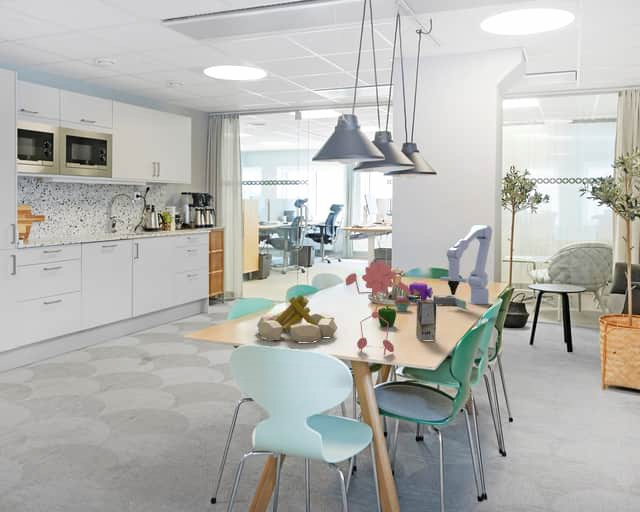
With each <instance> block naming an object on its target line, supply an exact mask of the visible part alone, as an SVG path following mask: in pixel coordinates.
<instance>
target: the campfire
mask: <svg viewBox="0 0 640 512" xmlns="http://www.w3.org/2000/svg"><path fill="white" fill-rule="evenodd" d="M288 302H289V303H290V304H289V306H288V307H286V309H285V310H283V311H280V312H278V313H276V314H271V313H270V314H269V313H268V314H267V313H266V314H263V315H262V316H261V317H260V320H258V322H257V325H256V326H257V328H258V329H257V331H258V333H259V334H260V336H261V338H262V337H263V338H266V339H268V340H277V341H280V339H281V337H282V334H283V333H285V334H286V333H287V332H289V331H290V338H291V339H292V340H293V341H295V342H296V341H298V342H314V341H317V340H318V341H320V340H322V338H321V337H331V338H333V336H334V335H335V333H336V332H337V330H338V325H337V323H336V322H335V317H334V316H332V315H331V314H329V313H327V312H318V313H317V312H316V313H313V314H311V315H310V314H309V313H310V311H311V309H310V307H308V306H307V305H308V304H309V302H310V301H309V300H308V298H305V297H304V296H303V295H302V294H300V295H298V296H297V297H295V296H293V297H292V298H291V299H289V300H288ZM303 319H304V320H305V322H303ZM333 334H334V335H333ZM263 338H262V339H263ZM268 340H267V341H268ZM318 341H317V342H318ZM298 342H297V343H298Z"/></svg>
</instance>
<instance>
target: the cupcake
mask: <svg viewBox="0 0 640 512" xmlns="http://www.w3.org/2000/svg"><path fill="white" fill-rule="evenodd" d="M406 294H407V293H406V292H404V294H403V296H399V297H396V298H395V299H394V300H393V304H394V305H395V306H396V309H397V310H396V311H398V312H406V311H407V310H408V308H409V305H411V301H412V300H409V297H408V298H407V297H406Z"/></svg>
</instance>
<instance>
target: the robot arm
mask: <svg viewBox="0 0 640 512" xmlns="http://www.w3.org/2000/svg"><path fill="white" fill-rule="evenodd" d="M470 228H471V229H470V231H469V233H468V234H467V235H466V236H465V238H464V239H463V238H462V239H459V240H458V242H457V243H456V244H454V246H452V247H450V248H449V249H448V250H447V252H446V257H447V260H448V261H447V262H448V276H440V278H439V279H440V281H442V282H443V281H444V282H447V285H448V286H449V290H450V293H451V296H455V295H456V291H457V288H458V287H459V285H460V283H465V284H467V283H468V285H469V288H470V300H468V301H467V302H468V303H470V304H471V305H489V288H488V287H487V285H488V276H489V275H488V274H487V273H486V272H485V270H486V265H487V260H488V254H489V249H490V244H491V241H492V240H491V239H492V235H493V229H492V227H491V226H490V225H480V224H479V225H478V224H474V225H473V226H472V227H470ZM475 239H476V240H477V241H479V247H478V250H477V251H478V252H477V257H476V261H475V266H474V270H472V271H471V272H470V273H469V277H468V278H463V277H460V262H461V261H460V259H461V258H462V256H463V255H464V252H465V251H466V250H467V249H468V247H469V244H470V243H471V242H472V241H474V240H475Z"/></svg>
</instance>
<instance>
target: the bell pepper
mask: <svg viewBox="0 0 640 512" xmlns="http://www.w3.org/2000/svg"><path fill="white" fill-rule="evenodd" d="M389 306H390V305H389V303H387V304H386V308H385V307H382V308H379V309H378V310H377V312H378V314H379V316H380V317H381V318H383V319H384V320H385V321H386V322H388V323H386V322H385V321H384V320H382V319H381V318H380V317H378V318H377V319H378V323H379V325H380V326H381V325H382V326H381V327H385V326H386V327H388V324H389V326H390V327H393V326H394V325H395V323H396V318H397V310H396V309H395V308H391V307H389Z"/></svg>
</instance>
